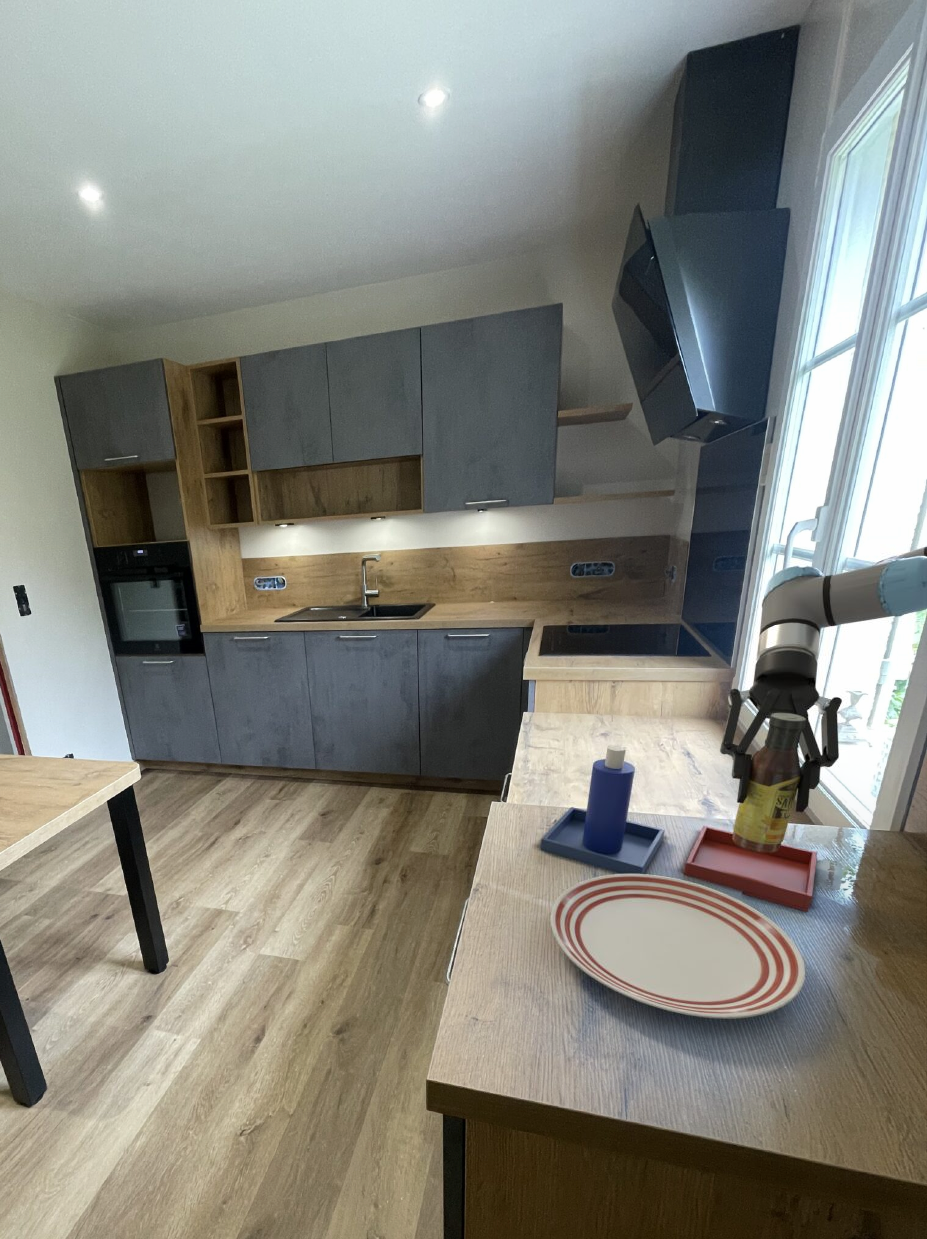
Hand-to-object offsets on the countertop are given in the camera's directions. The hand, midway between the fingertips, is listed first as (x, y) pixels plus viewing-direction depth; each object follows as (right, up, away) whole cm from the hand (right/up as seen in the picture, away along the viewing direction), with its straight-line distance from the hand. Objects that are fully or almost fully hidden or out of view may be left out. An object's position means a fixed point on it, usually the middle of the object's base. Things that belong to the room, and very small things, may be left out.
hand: (771, 803), depth 84 cm
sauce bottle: (+2, -7, +6) cm, 9 cm away
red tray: (+2, -11, +8) cm, 13 cm away
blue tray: (-17, -8, +16) cm, 24 cm away
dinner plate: (-19, -18, -8) cm, 28 cm away
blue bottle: (-17, -8, +16) cm, 24 cm away
